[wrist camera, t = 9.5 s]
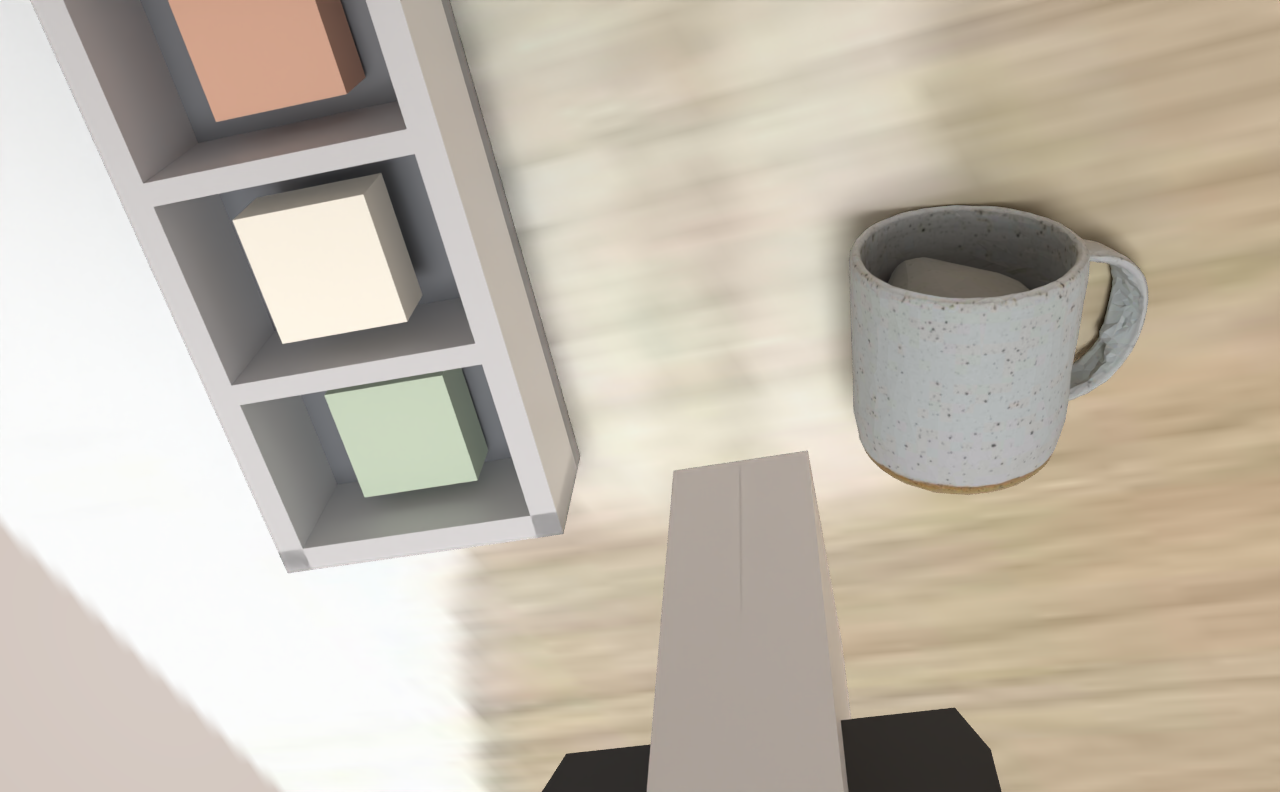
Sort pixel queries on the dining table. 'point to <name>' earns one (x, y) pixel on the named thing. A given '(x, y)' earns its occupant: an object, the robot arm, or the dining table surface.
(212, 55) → the key terracotta
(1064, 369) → the ceramic mug
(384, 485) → the key sage
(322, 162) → the grey compartment tray
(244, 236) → the key cream
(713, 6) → the dining table surface
